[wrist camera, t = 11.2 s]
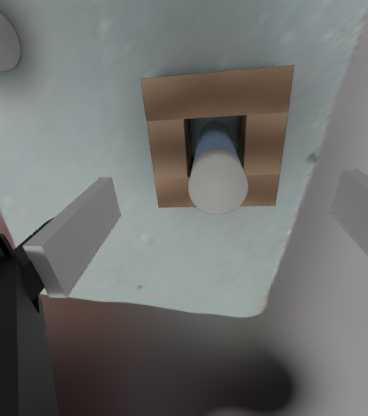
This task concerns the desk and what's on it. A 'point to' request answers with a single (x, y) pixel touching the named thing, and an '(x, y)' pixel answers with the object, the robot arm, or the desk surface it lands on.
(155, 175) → the socket block
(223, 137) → the marker
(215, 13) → the desk surface
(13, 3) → the desk surface
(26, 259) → the robot arm
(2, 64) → the coffee cup
